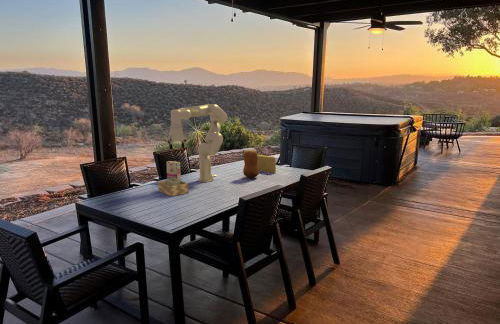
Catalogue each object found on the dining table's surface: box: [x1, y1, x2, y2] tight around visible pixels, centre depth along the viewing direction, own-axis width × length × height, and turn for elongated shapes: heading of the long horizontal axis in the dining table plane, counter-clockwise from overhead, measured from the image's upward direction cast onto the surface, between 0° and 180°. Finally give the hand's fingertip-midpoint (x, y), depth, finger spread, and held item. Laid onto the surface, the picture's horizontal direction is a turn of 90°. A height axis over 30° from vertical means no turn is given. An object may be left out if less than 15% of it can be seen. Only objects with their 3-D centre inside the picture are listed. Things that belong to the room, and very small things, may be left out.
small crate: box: [165, 178, 180, 186], centre depth 261 cm, size 6×10×8 cm, turn 38°
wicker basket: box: [157, 179, 190, 197], centre depth 261 cm, size 15×19×7 cm
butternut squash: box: [242, 149, 260, 180], centre depth 303 cm, size 14×13×25 cm
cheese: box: [257, 154, 277, 174], centre depth 331 cm, size 22×10×15 cm, turn 45°
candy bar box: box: [165, 160, 182, 181], centre depth 292 cm, size 11×5×16 cm, turn 62°
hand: (177, 148), depth 269 cm, fingers open, 9 cm apart
